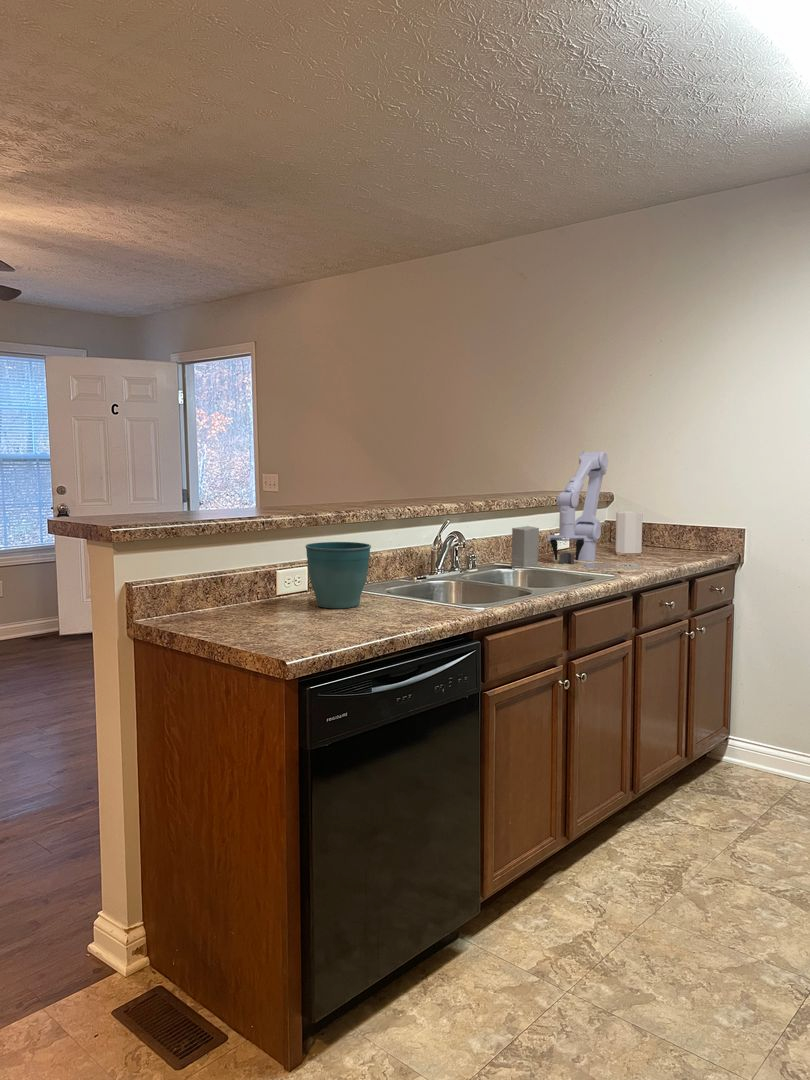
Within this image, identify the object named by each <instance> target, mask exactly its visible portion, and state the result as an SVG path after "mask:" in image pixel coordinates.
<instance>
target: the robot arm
mask: <svg viewBox="0 0 810 1080" xmlns="http://www.w3.org/2000/svg"><path fill="white" fill-rule="evenodd" d="M608 463H609V458H608V454H607V452H605V451H581V453H580V454H579V457H578V465H579V466H578V468H577V470H576V471H575V472H576V473H575V474H574V477H571V478H570V479H569V480H568V482H567V485H566V486H565V488H564V490H562V491H563V492H560V493H558V495H557V498H556V504H557V510H558V512H559V521H558V522H559V524H558V525H559V528H558V529H559V530H558V534H550V535H546V540H547V541H548V542H549V543H550V544H551V548H552V551H553V555H554V559H555V561H557V560H558V544H559V543H558V541H566V542H572V541H575V561H582V562H592V561H593V562H594V561H596V551H597V549H596V548H597V547H596V546H597V542H598V540H599V539H600V538H601V534H602V530H601V529H602V523H601V521H600V520H599V519H598V518H597V517H596V515H597V510H598V504H599V500H600V495H601V494H600V493H601V488H602V483H603V477H604V475H606V474H607V468H608V465H609V464H608ZM587 476H588V482H587V489H586V493H585V499H584V504H583V509H582V515H580V516H579V517H577V518H576V508H577V507H578V505H579V499H580V494H581V493H582V490H583V489H584V486H585V484H584V481H585V480H586V477H587Z"/></svg>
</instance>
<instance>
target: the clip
mask: <svg viewBox="0 0 810 1080" xmlns="http://www.w3.org/2000/svg"><path fill="white" fill-rule="evenodd" d="M558 557H559V558H558V562H559V563H560V564H564V563H570V564H571V565H570V566H575V565H574V562H575V553H574V552H568V551H567V552H566V551H565V552H563V551H561V552H560V551H559V552H558Z"/></svg>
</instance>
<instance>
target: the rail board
mask: <svg viewBox="0 0 810 1080" xmlns="http://www.w3.org/2000/svg"><path fill="white" fill-rule="evenodd" d="M581 564H582V565H583V566H584V568H586V569H623V570H624V569H627V570H628V569H643V570H644V568H643V567H641V566H640V565H639V564H637V563H627V562H626V563H614V562H612V563H608V562H607V563H606V562H605V563H603V562H602V563H601V562H599V563H598V562H596V563H594V562H593V563H592V562H582V563H581ZM622 565H624V566H627V565H629V566H632V567H623V566H622Z"/></svg>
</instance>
